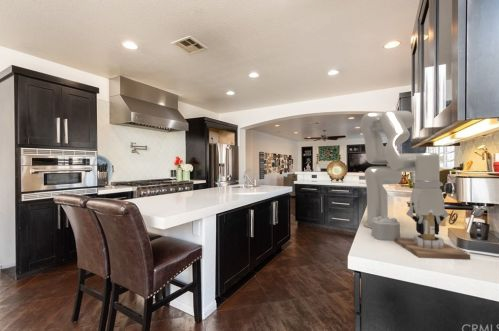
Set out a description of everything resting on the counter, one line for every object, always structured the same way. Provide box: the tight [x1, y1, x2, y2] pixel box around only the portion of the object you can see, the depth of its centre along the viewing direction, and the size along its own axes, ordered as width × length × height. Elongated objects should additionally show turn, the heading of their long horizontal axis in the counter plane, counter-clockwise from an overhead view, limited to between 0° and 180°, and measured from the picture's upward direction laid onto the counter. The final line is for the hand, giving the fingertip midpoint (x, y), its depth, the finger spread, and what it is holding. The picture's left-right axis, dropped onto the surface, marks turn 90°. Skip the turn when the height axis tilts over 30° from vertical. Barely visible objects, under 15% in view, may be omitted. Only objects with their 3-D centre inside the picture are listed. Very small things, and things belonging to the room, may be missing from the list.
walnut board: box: [393, 237, 471, 260], centre depth 91 cm, size 18×16×2 cm
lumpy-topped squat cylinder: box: [371, 216, 401, 242], centre depth 108 cm, size 10×13×9 cm
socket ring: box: [413, 233, 444, 250], centre depth 91 cm, size 9×9×3 cm
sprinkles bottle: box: [421, 210, 436, 240], centre depth 91 cm, size 5×5×14 cm
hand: (427, 233), depth 91 cm, fingers closed on sprinkles bottle, 4 cm apart
